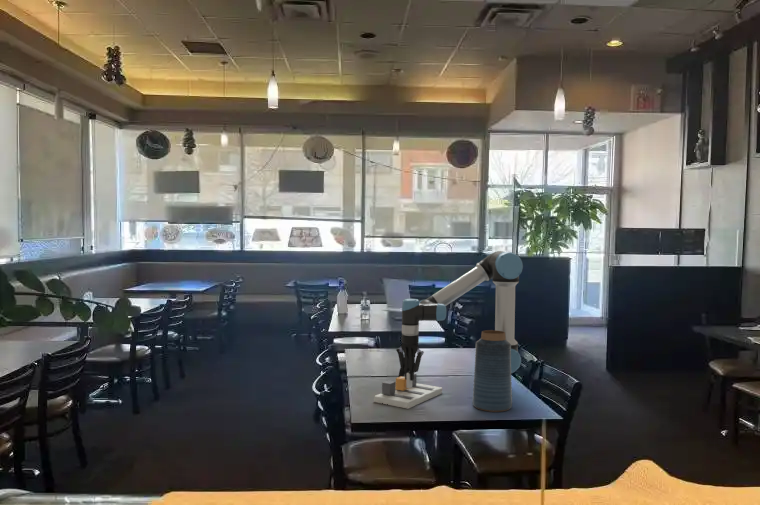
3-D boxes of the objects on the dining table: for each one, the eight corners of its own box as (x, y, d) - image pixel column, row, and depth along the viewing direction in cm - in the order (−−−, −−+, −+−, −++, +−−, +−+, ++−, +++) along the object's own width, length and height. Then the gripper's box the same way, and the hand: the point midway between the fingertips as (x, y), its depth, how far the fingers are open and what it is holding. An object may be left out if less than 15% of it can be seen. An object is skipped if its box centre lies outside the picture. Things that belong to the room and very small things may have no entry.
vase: (464, 406, 251) (465, 331, 250) (487, 399, 262) (488, 327, 261) (497, 415, 239) (498, 336, 238) (519, 407, 251) (521, 332, 250)
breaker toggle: (408, 388, 266) (408, 377, 266) (403, 390, 263) (403, 379, 262) (400, 387, 268) (401, 375, 268) (395, 389, 265) (395, 377, 265)
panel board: (442, 393, 271) (442, 376, 271) (408, 408, 246) (408, 389, 246) (410, 387, 281) (410, 370, 280) (374, 401, 256) (374, 383, 256)
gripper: (427, 334, 262) (426, 387, 263) (402, 331, 269) (401, 383, 270) (418, 336, 256) (417, 391, 257) (393, 333, 263) (392, 386, 264)
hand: (409, 387), depth 263 cm, fingers closed
